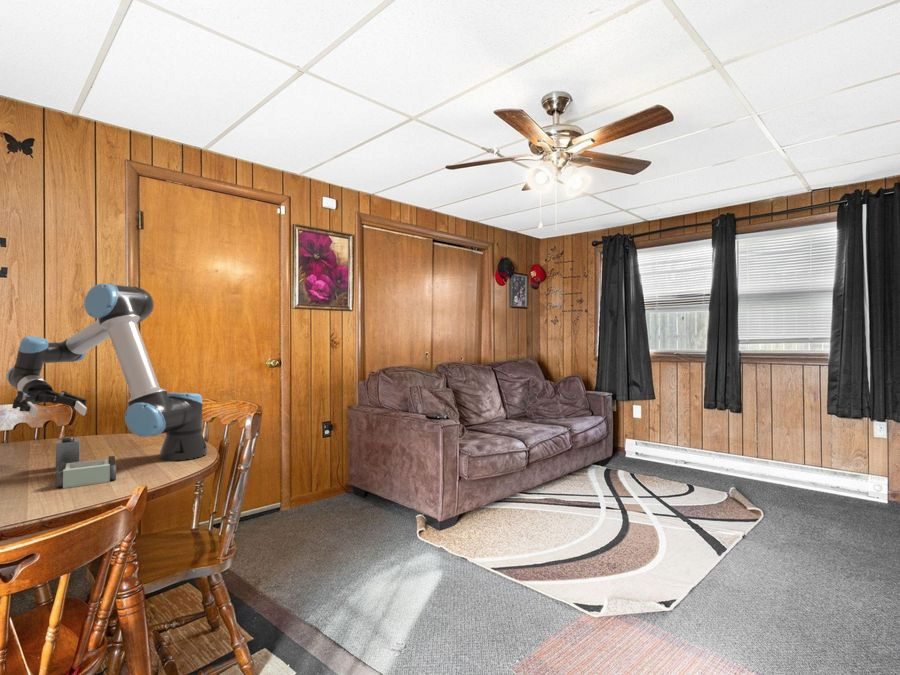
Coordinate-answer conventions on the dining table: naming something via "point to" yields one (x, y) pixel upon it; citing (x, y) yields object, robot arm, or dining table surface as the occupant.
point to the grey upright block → (67, 450)
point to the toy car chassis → (85, 472)
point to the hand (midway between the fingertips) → (61, 412)
